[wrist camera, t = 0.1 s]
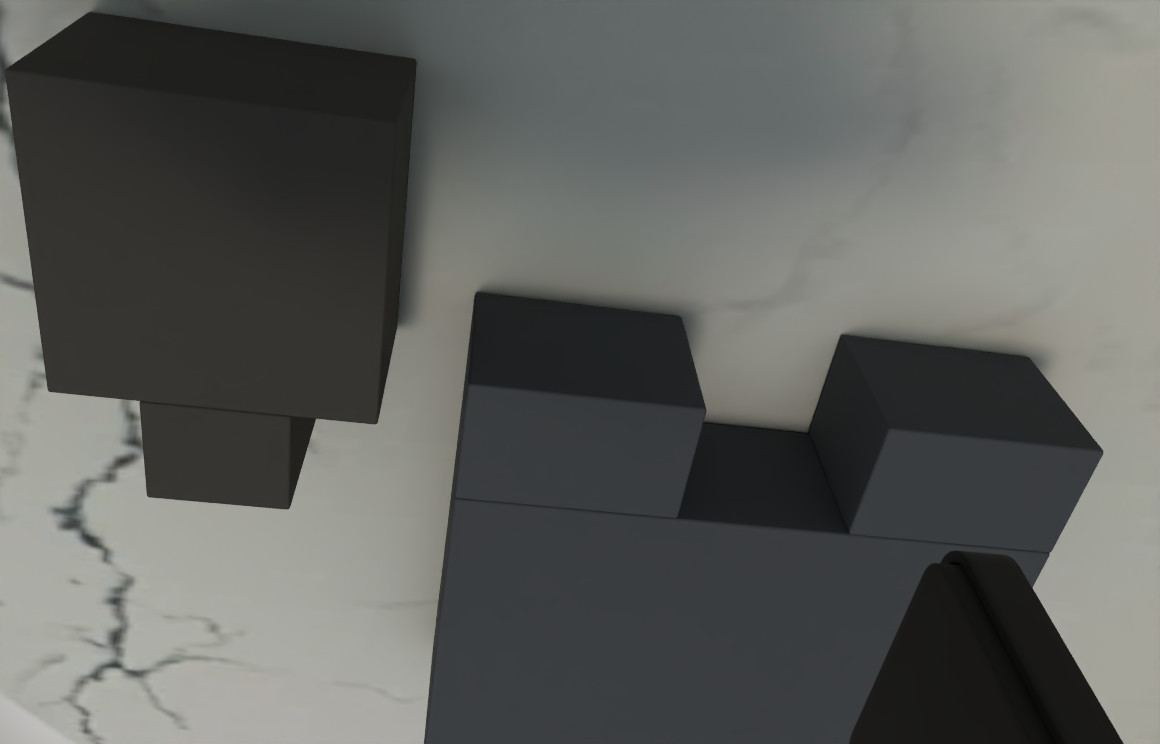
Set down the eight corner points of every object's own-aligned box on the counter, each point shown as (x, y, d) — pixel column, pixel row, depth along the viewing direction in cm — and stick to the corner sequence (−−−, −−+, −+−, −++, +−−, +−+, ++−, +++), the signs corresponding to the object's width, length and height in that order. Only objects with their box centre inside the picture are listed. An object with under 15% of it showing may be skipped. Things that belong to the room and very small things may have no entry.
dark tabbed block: (88, 11, 21) (3, 68, 17) (417, 58, 21) (397, 123, 18) (121, 387, 25) (60, 490, 22) (390, 414, 26) (371, 517, 23)
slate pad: (475, 291, 24) (467, 384, 21) (1029, 356, 26) (1105, 451, 23) (432, 647, 31) (422, 763, 27) (882, 681, 32) (924, 793, 29)
